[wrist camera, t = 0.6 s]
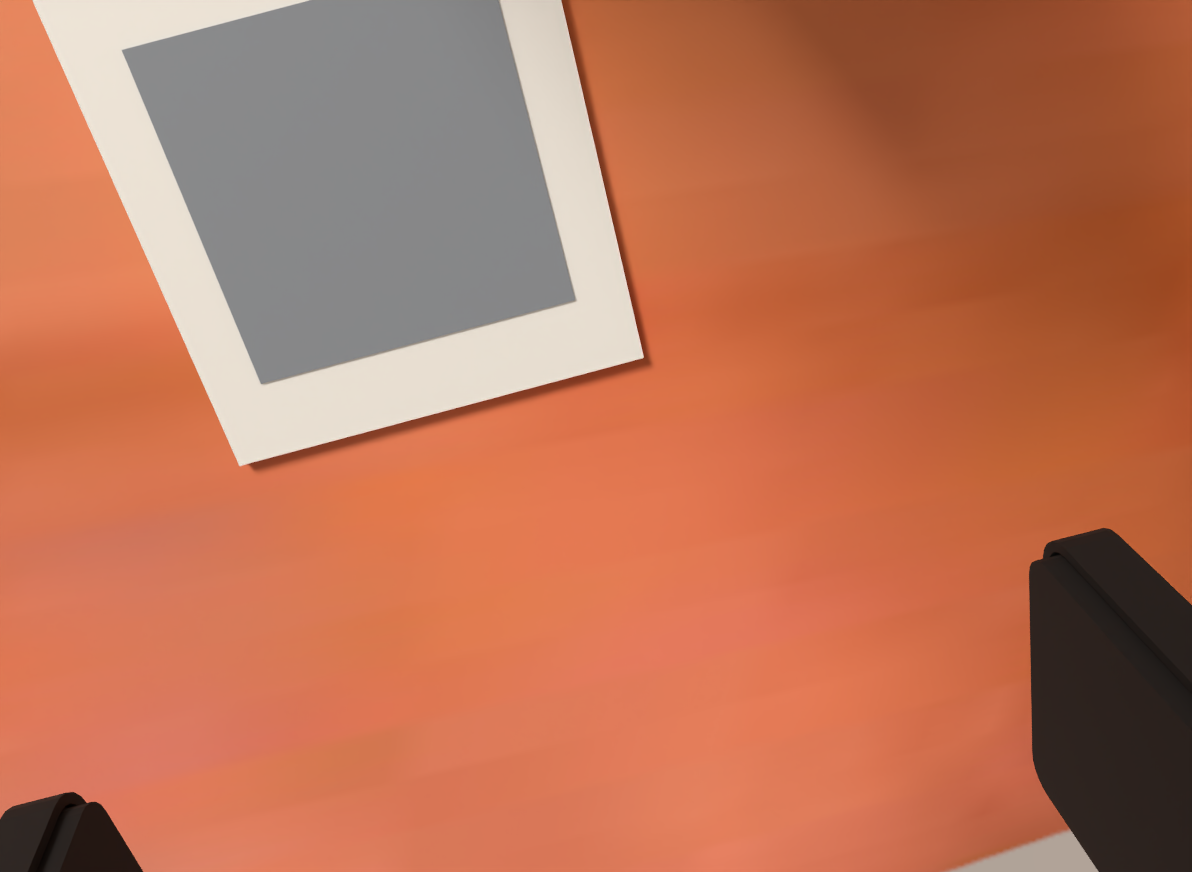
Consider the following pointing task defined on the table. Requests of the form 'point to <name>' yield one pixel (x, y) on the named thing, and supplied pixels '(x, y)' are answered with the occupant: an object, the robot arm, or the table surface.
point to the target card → (356, 201)
